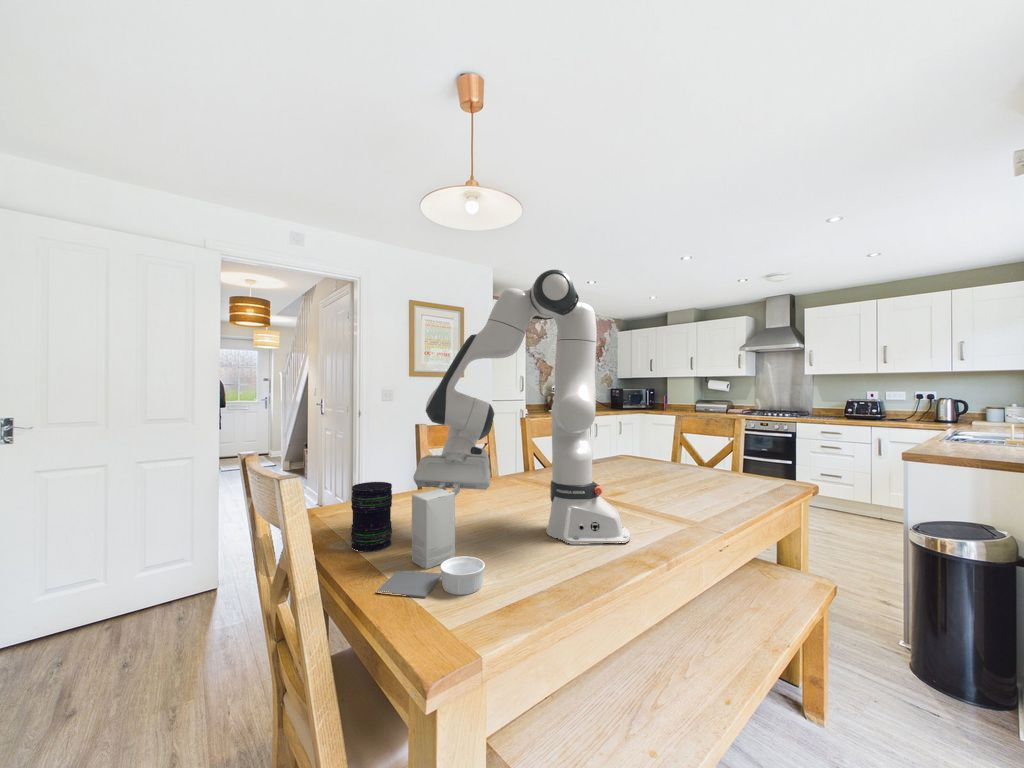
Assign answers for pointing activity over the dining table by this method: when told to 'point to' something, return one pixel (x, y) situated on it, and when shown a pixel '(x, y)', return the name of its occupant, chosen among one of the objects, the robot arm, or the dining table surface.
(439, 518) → the skincare box
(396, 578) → the mat
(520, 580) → the dining table surface
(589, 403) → the robot arm
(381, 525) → the black cylinder
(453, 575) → the ramekin
